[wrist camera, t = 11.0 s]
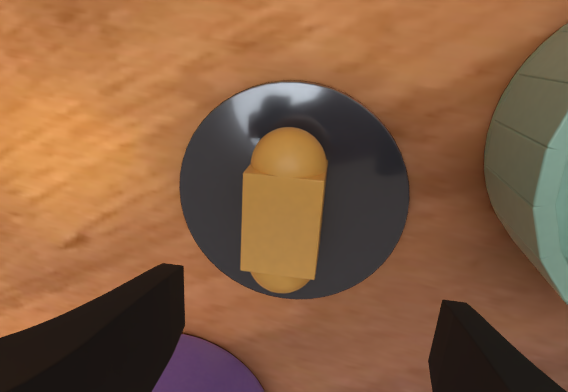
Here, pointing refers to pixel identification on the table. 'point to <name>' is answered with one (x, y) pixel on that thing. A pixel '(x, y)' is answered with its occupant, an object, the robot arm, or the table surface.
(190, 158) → the saucer
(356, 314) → the table surface
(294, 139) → the eggroll
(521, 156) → the pot
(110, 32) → the table surface
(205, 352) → the tape roll
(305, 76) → the table surface
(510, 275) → the table surface
